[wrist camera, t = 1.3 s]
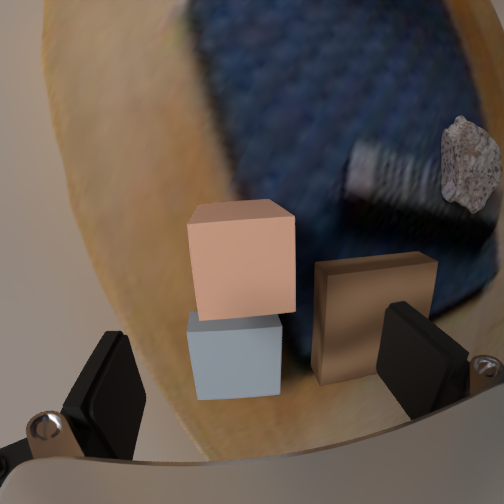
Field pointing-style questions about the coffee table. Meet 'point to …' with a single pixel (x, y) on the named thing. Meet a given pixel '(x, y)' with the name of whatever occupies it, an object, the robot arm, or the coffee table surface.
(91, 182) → the coffee table surface
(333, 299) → the walnut block
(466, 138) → the rock
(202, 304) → the terracotta block
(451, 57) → the coffee table surface
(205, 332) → the slate block
